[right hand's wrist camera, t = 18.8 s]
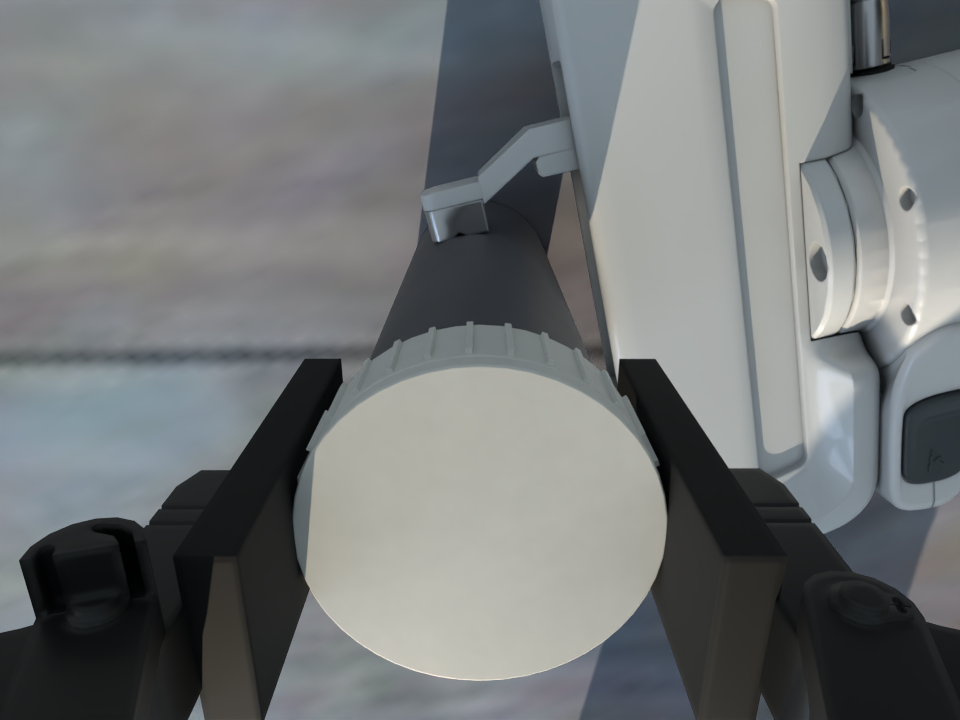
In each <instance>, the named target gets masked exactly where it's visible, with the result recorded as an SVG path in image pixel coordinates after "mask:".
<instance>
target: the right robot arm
mask: <svg viewBox="0 0 960 720" xmlns="http://www.w3.org/2000/svg"><path fill="white" fill-rule="evenodd" d="M342 383H343V378H342V365H341V359H304V361H303V362H302V364H301V365H300V367H299V368H298V370H297V371H296V373H295V374H294V376H293V377H292V379H291V380H290V382H289V383H288V385H287V386H286V388H285V389H284V391H283V392H282V394H281V395H280V397H279V398H278V400H277V401H276V403H275V404H274V406H273V407H272V409H271V410H270V412H269V413H268V415H267V416H266V418H265V419H264V421H263V422H262V424H261V425H260V427H259V428H258V430H257V431H256V433H255V434H254V436H253V437H252V439H251V440H250V442H249V443H248V445H247V446H246V447H245V449H244V450H243V452H242V453H241V455H240V456H239V458H238V459H237V461H236V462H235V464H234V465H233V467H232V468H231V470H201V471H200V472H198V473H197V474H195V475H193V476H192V477H190V478H189V479H187V480H186V481H184V482H183V483H181V484H180V485H178V486H177V487H176V488H175V489H174V490H173V492H172V493H171V494H170V496H169V497H168V498H167V499H166V501H165V502H164V503H163V505H162V509H159V510H158V511H157V512H156V514H155V515H154V516H153V517H152V519H151V520H150V523H149V525H146V526H145V528H143V527H141V526H140V525H139V524H138V523H136V522H135V521H132V520H127V519H122V518H118V517H117V518H99V519H92V520H88V521H84V522H80V523H76V524H72V525H70V526H67V527H65V528H63V529H60V530H58V531H56V532H53V533H51V534H49V535H47V536H46V537H44V538H43V539H41V540H40V541H38V542H37V543H35V544H34V545H32V546H31V547H30V548H29V549H28V551H27V552H26V553H25V554H24V555H23V556H22V558H21V559H20V560H19V562H20V566H21V569H22V572H23V576H24V579H25V582H26V586H27V589H28V593H29V596H30V599H31V603H32V606H33V609H34V613H35V616H36V620H35V622H34V625H32V626H28V627H25V628H21V629H17V630H12V631H7V632H3V633H0V720H188V718H189V716H190V714H191V712H192V710H193V707H194V705H195V703H196V701H197V699H198V697H199V695H200V698H201V703H202V708H203V713H204V718H205V720H264V719H265V716H266V713H267V711H268V708H269V705H270V702H271V699H272V696H273V693H274V690H275V687H276V685H277V682H278V679H279V676H280V673H281V670H282V667H283V664H284V661H285V659H286V656H287V653H288V650H289V647H290V644H291V641H292V638H293V635H294V633H295V630H296V627H297V624H298V621H299V618H300V615H301V612H302V609H303V607H304V604H305V601H306V598H307V595H308V592H309V589H310V588H309V586H308V584H307V582H306V580H305V578H304V576H303V573H302V570H301V567H300V565H299V562H298V559H297V552H296V545H295V536H294V527H293V518H292V517H293V505H294V496H295V492H296V489H297V485H298V482H297V477H298V475H299V472H300V470H301V468H302V466H303V464H304V462H305V460H306V458H307V456H308V454H309V452H310V451H307V450H306V448H307V446H308V444H309V442H310V440H311V438H312V436H313V434H314V432H315V430H316V428H317V426H318V424H319V422H320V420H321V418H322V416H323V414H324V412H325V410H327V411H329V409H330V406H331V404H332V402H333V400H334V398H335V396H336V394H337V392H338V390H339V388H340V386H341V385H342ZM617 391H618V392H619V394H620V395H621V397H623V396H625V395H626V396H627V397H628V399H629V401H630V403H631V405H632V407H633V409H634V411H635V413H636V415H637V417H638V419H639V421H640V423H641V425H642V427H643V429H644V431H645V434H646V436H647V438H648V440H649V442H650V444H651V446H652V448H653V450H654V452H655V455H656V457H657V459H658V461H659V464H660V466H657V467H656V468H657V470H658V472H659V474H660V478H661V481H662V485H663V489H664V492H665V496H666V505H667V513H668V521H667V531H666V540H665V548H664V555H663V559H662V562H661V565H660V568H659V570H658V573H657V576H656V578H655V580H654V582H653V584H652V586H651V591H652V594H653V597H654V600H655V603H656V605H657V608H658V611H659V614H660V617H661V620H662V623H663V626H664V629H665V631H666V634H667V637H668V640H669V643H670V646H671V649H672V652H673V654H674V657H675V660H676V663H677V666H678V669H679V672H680V675H681V678H682V680H683V683H684V686H685V689H686V692H687V695H688V698H689V701H690V704H691V706H692V709H693V712H694V715H695V718H696V720H756V715H757V710H758V705H759V700H760V695H761V693H762V695H763V697H764V699H765V701H766V703H767V705H768V707H769V709H770V712H771V714H772V716H773V718H774V720H960V630H957V629H953V628H948V627H943V626H939V625H936V624H932V623H928V622H926V621H925V619H924V617H923V615H922V614H921V613H920V611H919V610H918V608H917V607H916V606H915V604H914V603H913V602H912V601H911V600H909V599H908V598H907V597H906V596H904V595H903V594H902V593H900V592H899V591H898V590H897V589H895V588H893V587H891V586H889V585H887V584H885V583H883V582H881V581H879V580H876V579H874V578H871V577H868V576H864V575H860V574H857V573H854V572H853V571H852V570H851V569H850V567H849V566H848V565H847V564H846V562H845V561H844V560H843V558H842V557H841V556H840V555H839V553H838V552H837V551H836V550H835V548H834V547H833V546H832V544H831V543H830V542H829V541H828V539H827V538H826V537H825V536H824V534H823V533H822V532H821V530H820V529H819V528H818V527H817V525H816V524H815V523H812V521H811V518H810V516H809V515H808V514H807V513H806V511H805V510H804V509H803V508H802V507H799V502H798V501H797V500H796V499H795V497H794V496H793V495H792V494H791V492H790V491H789V490H788V488H787V487H786V486H785V485H784V484H783V483H781V482H780V481H778V480H777V479H775V478H774V477H772V476H771V475H769V474H768V473H766V472H764V471H763V470H761V469H760V468H728V466H727V465H726V463H725V462H724V460H723V459H722V457H721V456H720V454H719V453H718V451H717V450H716V448H715V447H714V445H713V444H712V442H711V441H710V439H709V438H708V436H707V435H706V433H705V432H704V430H703V429H702V427H701V426H700V424H699V423H698V421H697V420H696V418H695V417H694V415H693V414H692V412H691V411H690V409H689V408H688V407H687V405H686V404H685V402H684V401H683V399H682V398H681V396H680V395H679V393H678V392H677V390H676V389H675V387H674V386H673V384H672V383H671V381H670V380H669V378H668V377H667V375H666V374H665V372H664V371H663V369H662V368H661V366H660V365H659V363H658V362H657V360H656V359H619V370H618V383H617Z"/></svg>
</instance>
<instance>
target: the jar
mask: <svg viewBox="0 0 960 720" xmlns="http://www.w3.org/2000/svg"><path fill="white" fill-rule="evenodd" d="M485 208H486V213H487V217H488V226H489V231H486V232H482V233H478V234H471V235H464V234H462V233H458V234H457V235H456V236H455V238H453V239H450V240H447V241H443V242H433V241H432V237H431V234H430V230H429V227H427V229H426V230H425V232H424V233H423V235H422V237H421V239H420V242H419V244H418V246H417V249H416V251H415V253H414V256H413V258H412V261H411V263H410V265H409V268H408V270H407V273H406V275H405V277H404V280H403V282H402V284H401V287H400V289H399V292H398V294H397V296H396V299H395V301H394V303H393V306H392V308H391V311H390V313H389V315H388V318H387V320H386V323H385V325H384V327H383V330H382V332H381V334H380V337H379V339H378V342H377V344H376V346H375V349H374V351H373V354H372V356H371V358H370V360H371V361H372V360H373V359H375V358H376V357H378V356H379V355H381V354H382V353H384V352H385V351H387V350H388V349H390V348H392V347H393V344H394V342H395V341H397V340H399V339H400V340H401V342H404V341H406V340H408V339H410V338H412V337H416V336H419V335H422V334H425V333H428V331H429V328H431V327H436V330H439V329H444V328H450V327H455V326H466V325H467V322H470V321H473V325H493V326H505V323H510V324H511V325H512V328H516V329H521V330H526V331H529V332H532V333H535V334H538V335H541V333H542V332H545V333H547V334H548V336H549V338H550V339H552V340H554V341H556V342H558V343H560V344H562V345H565V346H567V347H568V348H570V349H572V350H574V349H575V348H578V349H579V350H581V353H582V355H583V357H584V358H585V359H587V360H588V361H589V362H590V363H591V361H590V358H589V356H588V354H587V351H586V349H585V346H584V344H583V342H582V339H581V337H580V334H579V332H578V330H577V327H576V325H575V323H574V320H573V318H572V315H571V313H570V311H569V308H568V306H567V303H566V301H565V299H564V296H563V294H562V292H561V289H560V287H559V284H558V282H557V280H556V277H555V275H554V272H553V270H552V268H551V265H550V263H549V260H548V258H547V256H546V253H545V251H544V249H543V246H542V244H541V241H540V239H539V237H538V235H537V233H536V232H535V230H534V228H533V227H532V226H531V224H530V223H529V222H528V221H527V220H526V219H525V218H524V217H523V216H522V215H521V214H519V213H518V212H516V211H515V210H513V209H511V208H509V207H507V206H505V205H502V204H499V203H496V202H491V201H487V202H486V203H485ZM591 364H592V363H591Z"/></svg>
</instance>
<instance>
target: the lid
mask: <svg viewBox="0 0 960 720" xmlns="http://www.w3.org/2000/svg"><path fill="white" fill-rule="evenodd" d="M306 450H307V451H310V452H309V454H308V456H307V458H306V460H305V462H304V464H303V466H302V468H301V470H300V472H299V475H298V477H297V482H298V485H297V489H296V492H295V496H294V505H293V517H292V518H293V527H294V536H295V545H296V552H297V559H298V562H299V565H300V567H301V570H302V573H303V576H304V578H305V580H306V582H307V584H308V586H309V588H310V590H311V592H312V593H313V595H314V597H315V598H316V600H317V601H318V602H319V604H320V605H321V607H322V608H323V609H324V611H325V612H326V613H327V614H328V615H329V617H330V618H331V619H332V620H333V621H334V622H335V623H336V624H337V625H338V626H339V627H340V628H341V629H342V630H343V631H344V632H346V633H347V634H348V635H349V636H351V637H352V638H353V639H354V640H355V641H357V642H358V643H360V644H361V645H363V646H364V647H366V648H367V649H369V650H370V651H372V652H373V653H375V654H377V655H379V656H381V657H383V658H385V659H387V660H389V661H391V662H393V663H395V664H398V665H401V666H403V667H406V668H409V669H412V670H414V671H418V672H422V673H426V674H430V675H433V676H438V677H445V678H452V679H458V680H479V681H482V680H501V679H509V678H515V677H522V676H527V675H531V674H535V673H538V672H542V671H546V670H549V669H551V668H554V667H557V666H559V665H562V664H565V663H567V662H569V661H571V660H573V659H575V658H577V657H579V656H581V655H583V654H585V653H587V652H588V651H590V650H591V649H593V648H594V647H596V646H598V645H599V644H601V643H602V642H604V641H605V640H606V639H607V638H608V637H610V636H611V635H612V634H613V633H614V632H616V631H617V630H618V629H619V628H620V627H621V626H622V625H623V624H624V623H625V622H626V621H627V620H628V619H629V618H630V617H631V616H632V615H633V613H634V612H635V611H636V610H637V608H638V607H639V605H640V604H641V603H642V601H643V600H644V598H645V597H646V596H647V594H648V592H649V590H650V588H651V586H652V584H653V582H654V580H655V578H656V576H657V573H658V570H659V568H660V565H661V562H662V559H663V555H664V548H665V540H666V531H667V521H668V513H667V505H666V496H665V492H664V489H663V485H662V481H661V478H660V474H659V472H658V470H657V468H656V467H657V466H660V464H659V461H658V459H657V457H656V455H655V452H654V450H653V448H652V446H651V444H650V442H649V440H648V438H647V436H646V434H645V431H644V429H643V427H642V425H641V423H640V421H639V419H638V417H637V415H636V413H635V411H634V409H633V407H632V405H631V403H630V401H629V399H628V397H627V396H626V395H625V396H623V397H621V395H620V394H619V392H618V391H617V389H616V388H615V387H614V385H613V382H612V380H611V378H610V376H609V374H608V372H607V371H606V370H605V369H603V370H602V371H600V370H598V369H597V368H596V367H595V366H594V365H593V364H591V363H590V362H589V361H588V360H587V359H585V358H584V357H583V355H582V353H581V350H579V349H578V348H575V349H574V350H572V349H570V348H568V347H567V346H565V345H562V344H560V343H558V342H556V341H554V340H552V339H550V338H549V336H548V334H547V333H545V332H542V333H541V335H538V334H535V333H532V332H529V331H526V330H521V329H516V328H512V325H511V324H510V323H505V326H493V325H473V321H470V322H467V325H466V326H455V327H450V328H444V329H439V330H436V327H431V328H429V331H428V333H425V334H422V335H419V336H416V337H412V338H410V339H408V340H406V341H404V342H401V340H400V339H399V340H397V341H395V342H394V344H393V347H392V348H390V349H388V350H387V351H385V352H384V353H382V354H381V355H379V356H378V357H376V358H375V359H373V360H372V361H371V360H370V359H369V358H368V359H367V360H365V361H364V363H363V366H362V368H361V370H360V371H359V372H358V373H357V374H356V375H355V377H354V378H353V379H352V380H351V381H350V382H349V383H348V385H347V384H346V383H344V382H343V383H342V385H341V386H340V388H339V390H338V392H337V394H336V396H335V398H334V400H333V402H332V404H331V406H330V409H329V411H327V410H325V412H324V414H323V416H322V418H321V420H320V422H319V424H318V426H317V428H316V430H315V432H314V434H313V436H312V438H311V440H310V442H309V444H308V446H307V448H306Z"/></svg>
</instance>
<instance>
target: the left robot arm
mask: <svg viewBox="0 0 960 720" xmlns="http://www.w3.org/2000/svg"><path fill="white" fill-rule="evenodd" d="M539 2H540V7H541V13H542V18H543V24H544V29H545V35H546V40H547V46H548V51H549V57H550V62H551V68H552V73H553V79H554V84H555V90H556V95H557V101H558V106H559V112H560V117H559V118H555V119H551V120H547V121H544V122H540V123H536V124H532V125H528V126H524V127H523V128H522V129H521V130H520V131H519V132H518V133H517V134H516V135H515V136H514V137H513V138H512V139H511V140H510V141H508V142H507V143H506V144H505V145H504V146H503V147H502V148H501V149H500V150H499V151H498V152H497V153H496V154H495V155H494V156H493V157H492V158H491V159H490V160H489V161H488V162H487V163H486V164H485V165H484V166H483V167H482V168H481V169H480V170H479V171H478V176H474V177H470V178H466V179H462V180H458V181H454V182H449V183H445V184H441V185H437V186H434V187H431V188H428V189H426V190H423V191H422V193H421V194H420V197H421V201H422V205H423V209H424V213H425V216H426V220H427V223H428V227H429V230H430V234H431V237H432V241H433V242H443V241H447V240H450V239H453V238H455V236H456V235H457V234H458V233H462V234H464V235H471V234H478V233H482V232H486V231H489V226H488V217H487V213H486V208H485V203H486V202H487V201H488V200H489V199H490V198H492V197H493V196H494V195H495V194H496V193H497V192H498V191H499V190H500V189H501V188H502V187H503V186H504V185H505V184H506V183H508V182H509V181H510V180H511V179H512V178H513V177H514V176H515V175H516V174H517V173H518V172H519V171H520V170H521V169H523V168H524V167H525V166H526V165H527V164H528V163H529V162H530V161H531V160H532V164H533V168H534V169H535V170H536V172H537V173H538V174H539V175H540V176H542V177H546V176H551V175H555V174H560V173H564V172H569V171H570V172H571V178H572V183H573V189H574V194H575V200H576V205H577V211H578V216H579V222H580V227H581V233H582V238H583V244H584V249H585V255H586V260H587V266H588V271H589V277H590V282H591V288H592V293H593V299H594V304H595V310H596V315H597V321H598V326H599V332H600V337H601V343H602V348H603V354H604V359H605V365H606V370H607V372H608V374H609V376H610V378H611V380H612V382H613V385H614V387H615V388H616V389H617V383H618V370H619V359H656V360H657V362H658V363H659V365H660V366H661V368H662V369H663V371H664V372H665V374H666V375H667V377H668V378H669V380H670V381H671V383H672V384H673V386H674V387H675V389H676V390H677V392H678V393H679V395H680V396H681V398H682V399H683V401H684V402H685V404H686V405H687V407H688V408H689V409H690V411H691V412H692V414H693V415H694V417H695V418H696V420H697V421H698V423H699V424H700V426H701V427H702V429H703V430H704V432H705V433H706V435H707V436H708V438H709V439H710V441H711V442H712V444H713V445H714V447H715V448H716V450H717V451H718V453H719V454H720V456H721V457H722V459H723V460H724V462H725V463H726V465H727V466H728V468H760V469H761V470H763V471H764V472H766V473H768V474H769V475H771V476H772V477H774V478H775V479H777V480H778V481H780V482H781V483H783V484H784V485H785V486H786V487H787V488H788V490H789V491H790V492H791V494H792V495H793V496H794V497H795V499H796V500H797V501H798V502H799V507H802V508H803V509H804V510H805V511H806V513H807V514H808V515H809V516H810V518H811V521H812V523H815V524H816V525H817V527H818V528H819V529H820V530H821V532H822V533H823V534H825V533H827V532H830V531H832V530H835V529H837V528H839V527H841V526H842V525H844V524H846V523H848V522H849V521H851V520H852V519H853V518H855V517H856V516H857V515H858V514H859V513H860V512H861V511H862V510H863V509H864V508H865V507H866V505H867V504H868V503H869V501H870V499H871V498H872V496H873V493H874V491H876V492H878V493H879V494H880V495H881V496H883V497H884V498H885V499H886V500H888V501H889V502H890V503H891V504H893V505H894V506H895V507H897V508H899V509H902V510H921V509H927V508H932V507H936V506H940V505H943V504H945V503H947V502H949V501H951V500H952V499H953V498H954V497H956V495H957V494H958V493H959V492H960V49H959V50H954V51H950V52H946V53H942V54H938V55H934V56H930V57H926V58H922V59H918V60H914V61H909V62H905V63H900V64H896V65H895V64H891V32H890V3H889V0H539Z"/></svg>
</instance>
